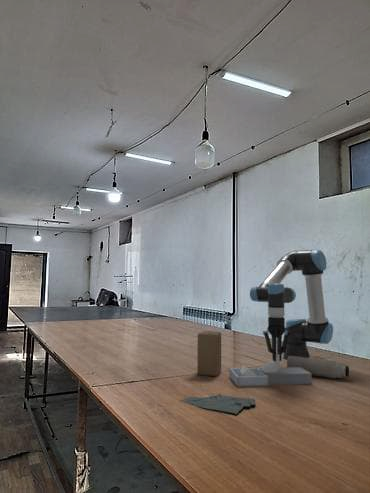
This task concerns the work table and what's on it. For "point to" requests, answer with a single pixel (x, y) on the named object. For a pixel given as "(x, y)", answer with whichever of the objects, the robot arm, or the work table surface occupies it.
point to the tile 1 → (247, 372)
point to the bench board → (290, 376)
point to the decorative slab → (222, 403)
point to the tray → (248, 378)
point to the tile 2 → (269, 367)
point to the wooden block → (209, 353)
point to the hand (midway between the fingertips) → (277, 368)
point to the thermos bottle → (319, 367)
